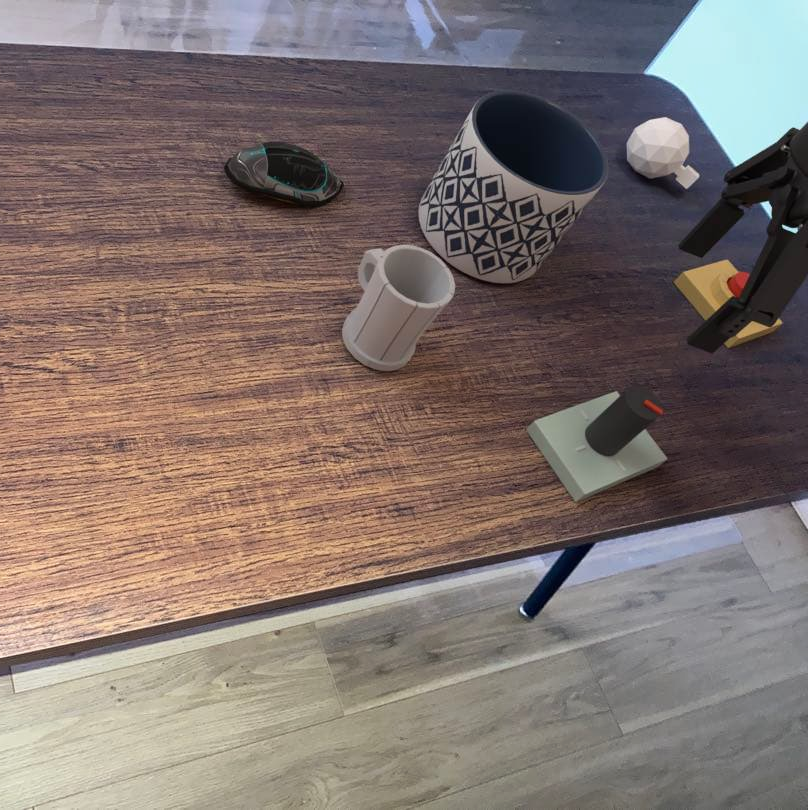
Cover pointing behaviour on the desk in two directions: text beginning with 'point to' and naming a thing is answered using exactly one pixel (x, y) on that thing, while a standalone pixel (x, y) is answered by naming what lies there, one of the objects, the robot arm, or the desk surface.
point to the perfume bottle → (661, 150)
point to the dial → (623, 420)
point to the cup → (396, 304)
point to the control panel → (590, 450)
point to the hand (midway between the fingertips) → (694, 296)
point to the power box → (717, 296)
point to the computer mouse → (284, 174)
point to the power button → (738, 283)
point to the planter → (511, 186)
